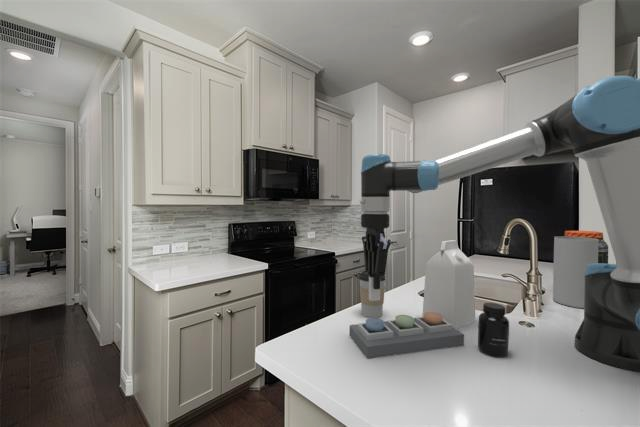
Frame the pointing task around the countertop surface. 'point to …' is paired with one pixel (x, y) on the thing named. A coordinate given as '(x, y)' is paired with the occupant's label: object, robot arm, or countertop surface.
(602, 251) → the supplement tub
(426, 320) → the button terracotta
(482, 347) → the supplement bottle
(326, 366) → the countertop surface
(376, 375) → the countertop surface
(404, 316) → the button sage
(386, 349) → the panel
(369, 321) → the button slate
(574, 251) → the cylinder vase
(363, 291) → the coffee cup
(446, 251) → the milk
